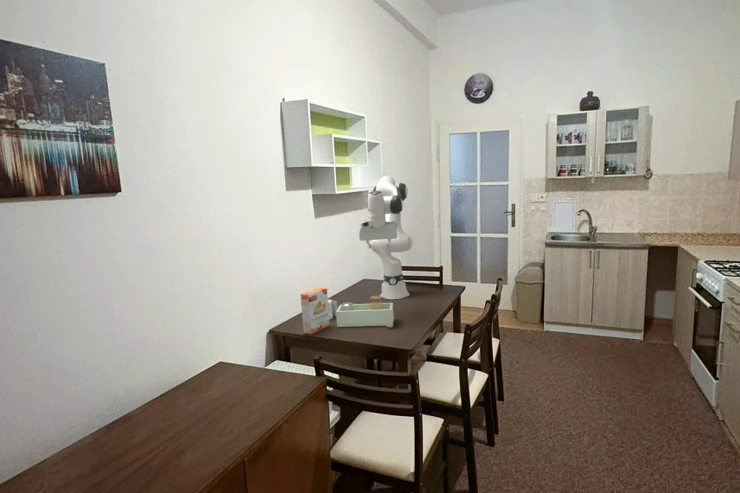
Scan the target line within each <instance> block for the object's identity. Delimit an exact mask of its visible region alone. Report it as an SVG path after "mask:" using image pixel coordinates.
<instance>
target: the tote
mask: <svg viewBox="0 0 740 493" xmlns="http://www.w3.org/2000/svg"><path fill="white" fill-rule="evenodd" d="M353 307H354V311H342V304H340V305H339V306H338V307H337V311H336V316H335V317H336V326H337V328H349V327H351V328H354V327H376V326H377V327H381V326H382V327H383V326H385V327H386V328H393V327H394V322H395V316H394V315H395V314H394V303H393V302H382V310H371V303H353Z"/></svg>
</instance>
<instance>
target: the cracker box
mask: <svg viewBox="0 0 740 493" xmlns="http://www.w3.org/2000/svg"><path fill="white" fill-rule="evenodd" d="M300 304H301V315H302V317H301V318H302V328H303V335H305V334H308V335H309V334H310V335H313V334H316V333H317V332H320V331H322V330H323V329H326V328H327V327H328V328H329V327H330V320H329V310H328V288H325V287H317V288H314V289H311V290H308V291H305V292H303V293H300Z"/></svg>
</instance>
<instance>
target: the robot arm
mask: <svg viewBox="0 0 740 493" xmlns="http://www.w3.org/2000/svg"><path fill="white" fill-rule="evenodd" d="M408 193H409V189H408V187H407V185H406V184H405V183H403V182H399V183H396V180H395V178H394V177H393V176H391V175H389V174H388V175H383V176H382V177H381V178H380V179H379V181H377V184H376V185H375V186H374V187H373V189H372V191H370V192H369V193H368V195H367V211H368V219H366V220H364V221H362V222H360V228H359V230H358V231H359V235H358V237H359V240H360V241H365V243H366V244H367V246H368V249H371V250H372V252H374V253H375V254H376V255H378V256H379V258H380V259H381V261H382V267H383V282H382V283H381V293H380V294H379V295H378V296H381V299H382V298H383V299H387V300H400V299H403V298H406V297H409V296H410V293H409V291H408V290H407V287H406V286H407V285H406V282H405V281H404V275H403V269H402V261H401V259H399V258H397V257H394V256H393V255H392V253H403V252H407V251H410V250H411V249H412V247H413V246H412V245H413V240H412V238H411V236H410V235H409V234H408V233H406V232H405V231H404V230H403V228H402V221H401V220H402V218H401V217H402V215H401V214H402V211H403V208H404V201H405V200H406V199H407V197H408Z"/></svg>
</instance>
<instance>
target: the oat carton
mask: <svg viewBox="0 0 740 493" xmlns="http://www.w3.org/2000/svg"><path fill="white" fill-rule="evenodd" d="M382 303H383V302H382V297H381V296H379V295H371V296H370V304H371V310H382Z"/></svg>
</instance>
